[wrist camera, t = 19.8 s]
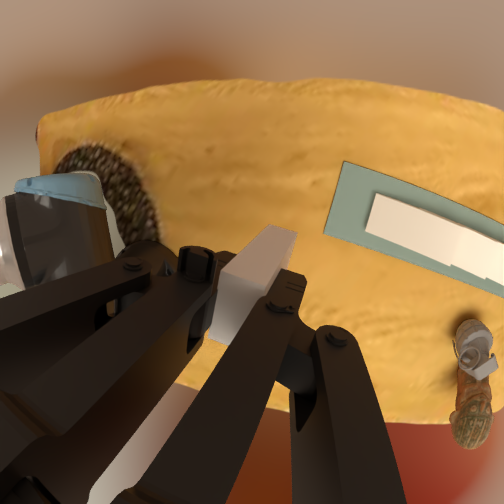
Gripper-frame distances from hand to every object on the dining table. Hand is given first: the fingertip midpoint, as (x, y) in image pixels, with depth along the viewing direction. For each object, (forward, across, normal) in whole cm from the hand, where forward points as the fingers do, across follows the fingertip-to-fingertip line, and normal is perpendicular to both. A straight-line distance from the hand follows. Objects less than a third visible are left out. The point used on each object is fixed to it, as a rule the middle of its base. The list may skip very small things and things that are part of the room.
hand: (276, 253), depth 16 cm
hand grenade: (+26, +29, -12) cm, 41 cm away
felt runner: (+26, +18, 0) cm, 32 cm away
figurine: (+26, +34, -20) cm, 47 cm away
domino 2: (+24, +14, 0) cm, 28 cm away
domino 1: (+24, +8, 0) cm, 25 cm away
